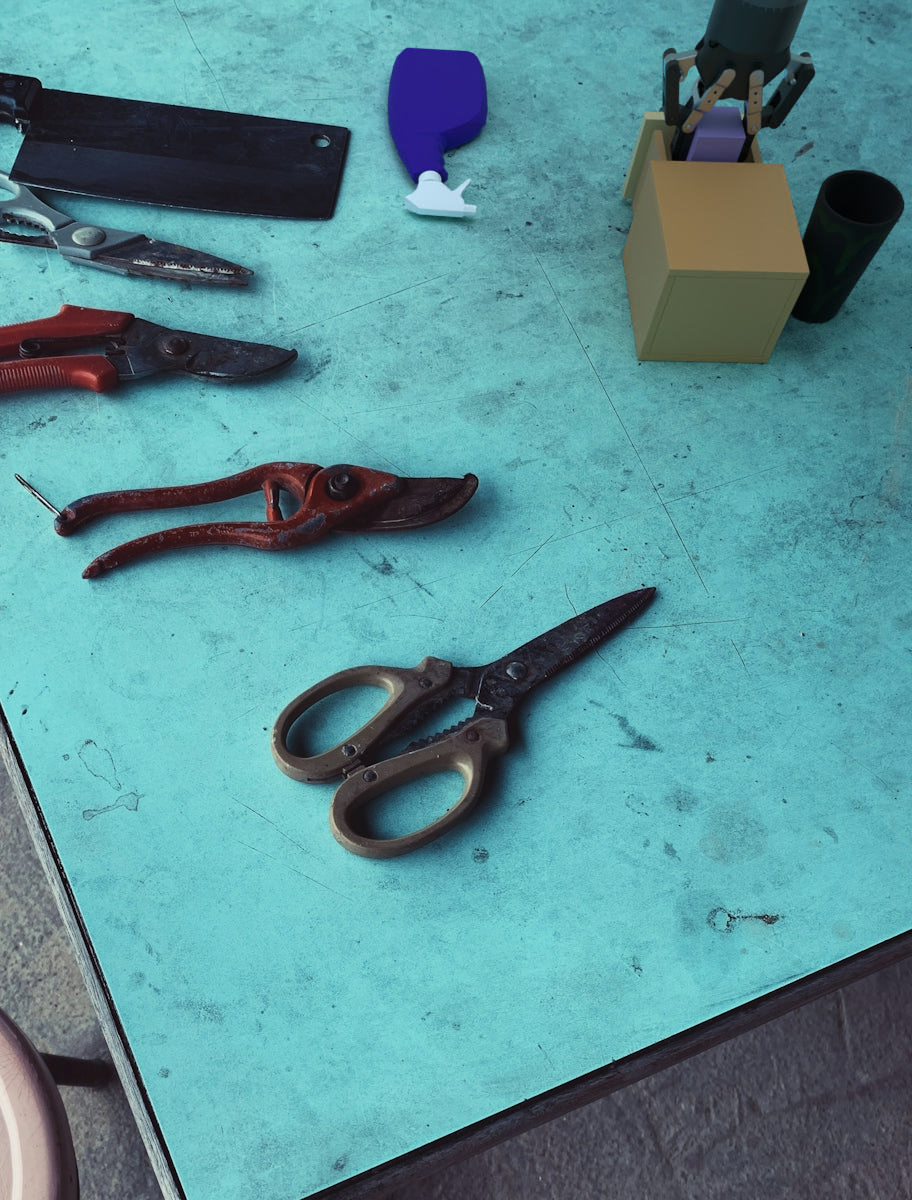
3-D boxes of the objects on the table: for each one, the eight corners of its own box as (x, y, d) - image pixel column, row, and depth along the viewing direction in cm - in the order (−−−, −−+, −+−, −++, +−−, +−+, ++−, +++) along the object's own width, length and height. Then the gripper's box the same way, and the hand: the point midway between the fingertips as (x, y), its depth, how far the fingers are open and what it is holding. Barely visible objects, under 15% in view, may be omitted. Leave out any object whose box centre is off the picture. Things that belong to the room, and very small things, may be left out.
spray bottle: (390, 44, 132) (384, 197, 121) (489, 49, 132) (492, 203, 121) (388, 70, 134) (382, 222, 124) (485, 75, 134) (487, 228, 124)
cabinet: (622, 255, 122) (650, 159, 113) (744, 258, 122) (783, 163, 113) (637, 360, 116) (669, 269, 106) (766, 363, 116) (810, 272, 107)
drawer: (617, 163, 127) (639, 83, 119) (723, 166, 127) (753, 86, 119) (635, 282, 119) (660, 204, 111) (748, 285, 119) (782, 208, 112)
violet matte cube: (723, 150, 118) (739, 106, 114) (729, 181, 116) (746, 137, 112) (677, 149, 118) (692, 105, 114) (683, 179, 116) (698, 136, 112)
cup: (808, 266, 122) (859, 158, 111) (864, 310, 120) (922, 204, 109) (755, 296, 120) (802, 189, 109) (811, 342, 117) (865, 237, 107)
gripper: (690, 2, 99) (635, 186, 115) (861, 7, 100) (783, 190, 115) (679, -51, 103) (627, 135, 118) (844, -47, 103) (771, 139, 118)
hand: (705, 161), depth 116 cm, fingers closed on violet matte cube, 4 cm apart
